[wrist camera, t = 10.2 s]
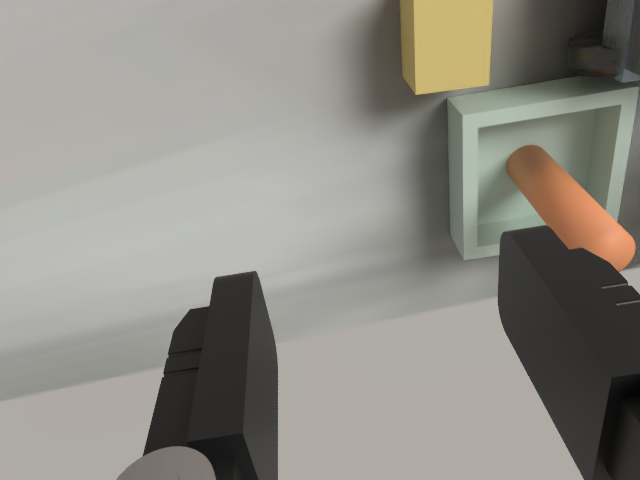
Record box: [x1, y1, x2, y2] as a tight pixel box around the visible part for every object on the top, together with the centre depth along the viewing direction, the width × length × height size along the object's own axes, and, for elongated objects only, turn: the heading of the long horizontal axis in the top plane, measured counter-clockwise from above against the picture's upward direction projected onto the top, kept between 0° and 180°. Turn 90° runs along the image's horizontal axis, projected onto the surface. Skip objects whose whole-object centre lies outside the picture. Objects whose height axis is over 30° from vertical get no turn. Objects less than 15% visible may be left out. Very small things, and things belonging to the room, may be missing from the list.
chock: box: [400, 0, 493, 95], centre depth 27 cm, size 4×5×4 cm
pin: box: [506, 145, 636, 272], centre depth 27 cm, size 2×2×10 cm
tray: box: [447, 75, 640, 261], centre depth 31 cm, size 9×9×3 cm
